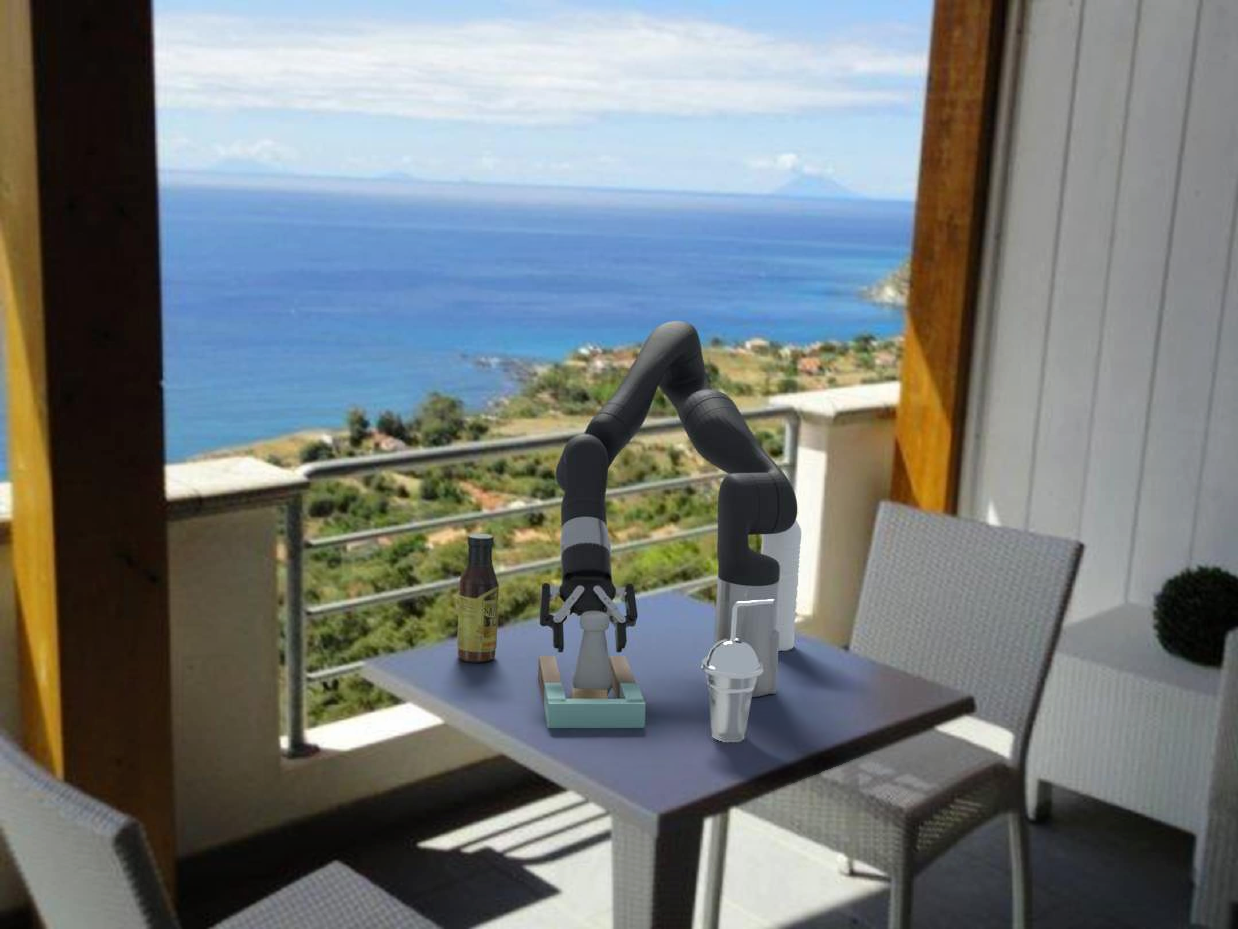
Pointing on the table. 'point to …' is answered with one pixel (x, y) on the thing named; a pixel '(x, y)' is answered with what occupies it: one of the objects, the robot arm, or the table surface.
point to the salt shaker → (593, 654)
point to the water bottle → (785, 579)
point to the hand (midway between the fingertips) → (590, 650)
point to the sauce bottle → (478, 603)
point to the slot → (617, 666)
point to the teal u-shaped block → (594, 709)
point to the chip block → (589, 694)
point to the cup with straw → (732, 681)
